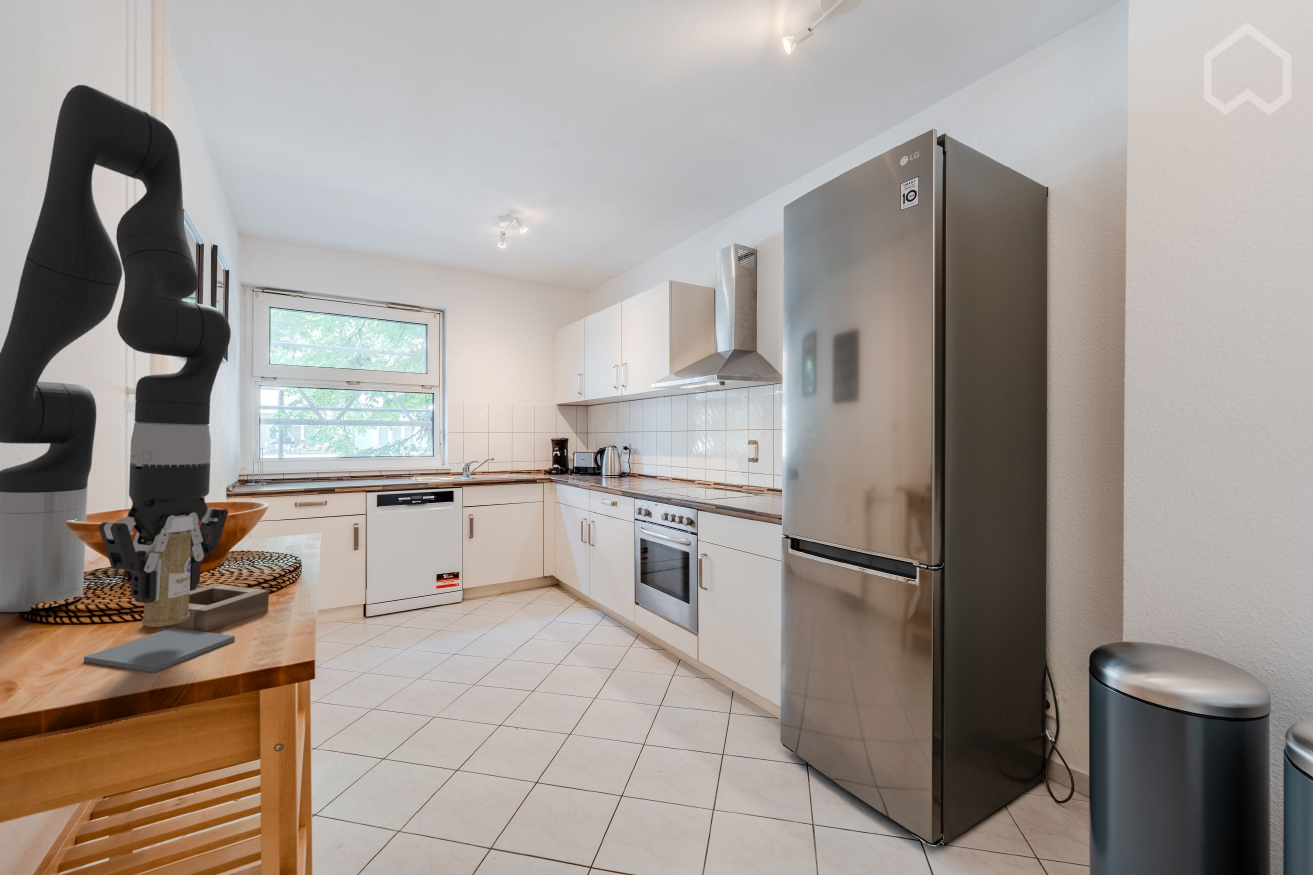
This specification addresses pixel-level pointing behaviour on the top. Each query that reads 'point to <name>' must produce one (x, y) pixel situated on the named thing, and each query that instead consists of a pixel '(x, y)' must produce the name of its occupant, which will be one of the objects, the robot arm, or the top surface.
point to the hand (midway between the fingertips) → (166, 595)
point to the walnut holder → (222, 606)
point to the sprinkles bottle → (172, 577)
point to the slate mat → (159, 649)
